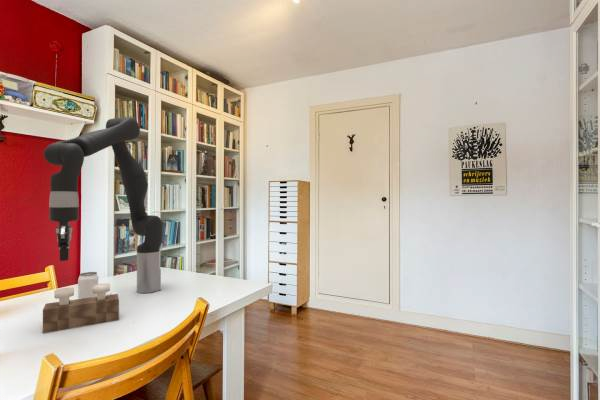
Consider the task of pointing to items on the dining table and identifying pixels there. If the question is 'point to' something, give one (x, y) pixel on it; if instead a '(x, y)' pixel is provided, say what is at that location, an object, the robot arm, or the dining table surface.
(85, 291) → the can
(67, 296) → the knob
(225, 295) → the dining table surface
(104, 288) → the knob
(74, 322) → the mount
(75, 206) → the robot arm
